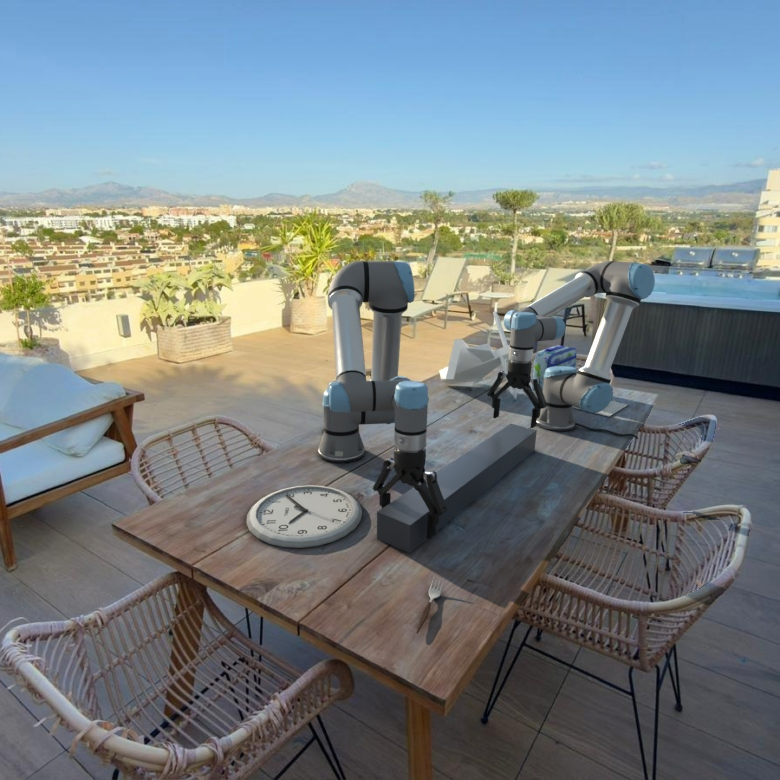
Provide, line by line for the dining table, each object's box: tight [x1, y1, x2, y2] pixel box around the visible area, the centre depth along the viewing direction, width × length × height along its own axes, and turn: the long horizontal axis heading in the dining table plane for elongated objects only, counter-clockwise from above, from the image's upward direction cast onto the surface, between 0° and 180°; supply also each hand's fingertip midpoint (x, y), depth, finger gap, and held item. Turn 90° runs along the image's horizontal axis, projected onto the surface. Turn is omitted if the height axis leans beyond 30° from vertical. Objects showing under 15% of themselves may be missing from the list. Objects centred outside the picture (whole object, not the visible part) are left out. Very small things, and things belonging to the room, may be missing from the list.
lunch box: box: [531, 345, 577, 392], centre depth 245 cm, size 26×11×21 cm, turn 134°
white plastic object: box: [438, 310, 528, 400], centre depth 245 cm, size 37×45×31 cm
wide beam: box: [376, 423, 538, 554], centre depth 153 cm, size 76×10×8 cm, turn 143°
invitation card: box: [573, 400, 629, 418], centre depth 226 cm, size 21×1×15 cm
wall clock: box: [246, 484, 363, 549], centre depth 137 cm, size 30×2×30 cm
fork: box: [416, 574, 445, 635], centre depth 104 cm, size 3×16×2 cm, turn 160°
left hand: (407, 527), depth 129 cm, fingers open, 13 cm apart
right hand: (514, 421), depth 176 cm, fingers open, 13 cm apart
